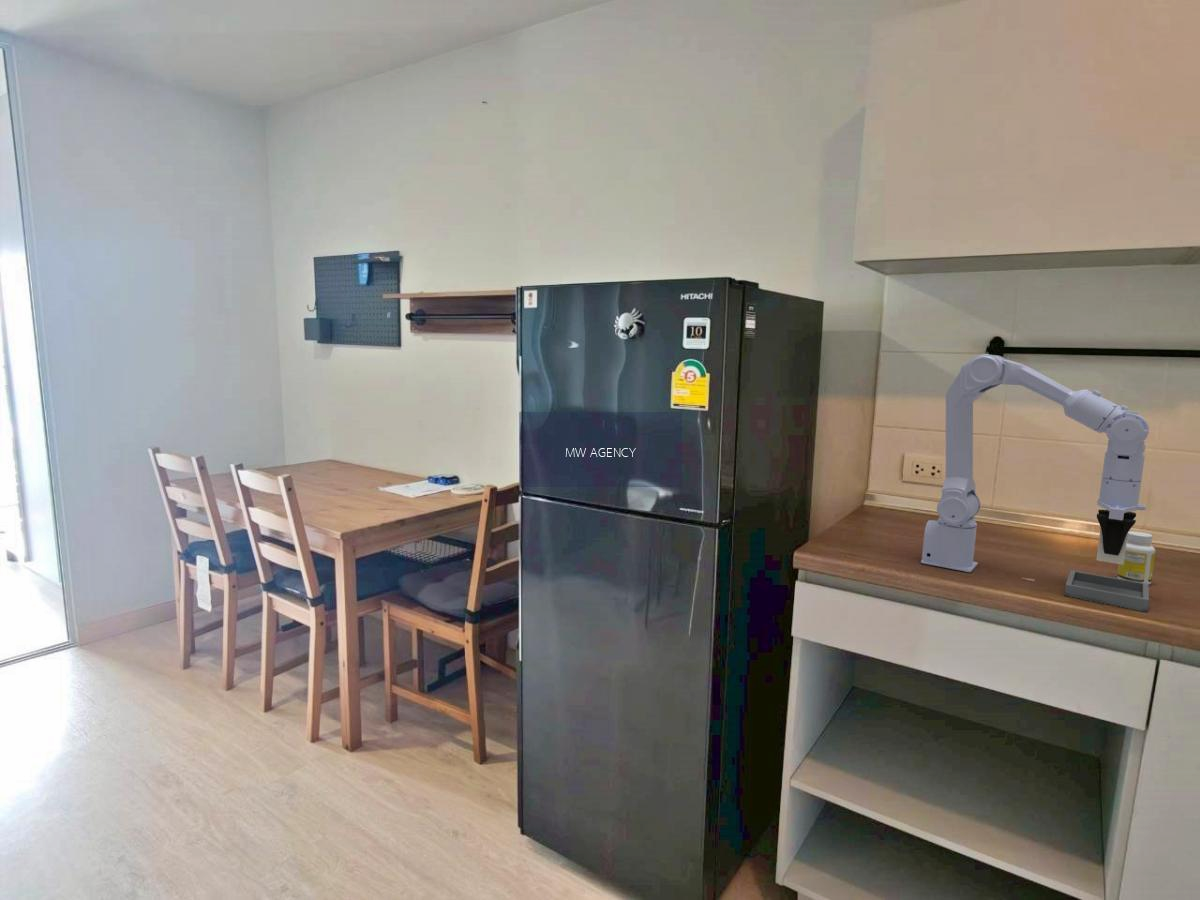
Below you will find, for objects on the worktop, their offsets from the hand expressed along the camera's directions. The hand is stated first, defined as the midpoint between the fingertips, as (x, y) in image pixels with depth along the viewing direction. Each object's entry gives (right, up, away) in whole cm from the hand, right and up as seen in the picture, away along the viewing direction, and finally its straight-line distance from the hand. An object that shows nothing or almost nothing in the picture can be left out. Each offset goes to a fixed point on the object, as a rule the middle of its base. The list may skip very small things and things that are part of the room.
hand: (1111, 551), depth 125 cm
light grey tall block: (0, -2, 0) cm, 2 cm away
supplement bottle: (+12, -8, +10) cm, 18 cm away
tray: (0, -8, +1) cm, 8 cm away
